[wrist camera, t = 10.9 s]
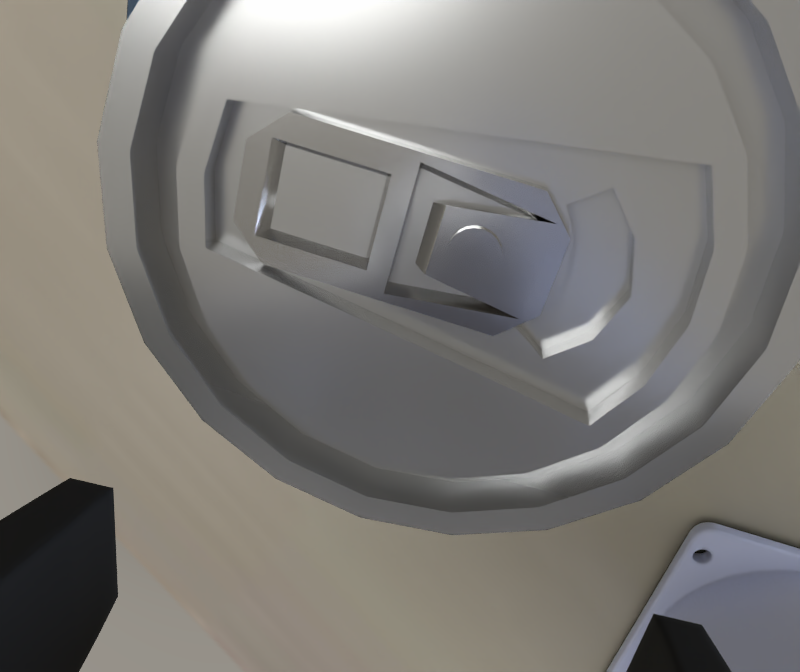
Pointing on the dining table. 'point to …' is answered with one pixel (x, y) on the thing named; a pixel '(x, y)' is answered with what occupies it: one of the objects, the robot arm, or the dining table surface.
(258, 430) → the beer can
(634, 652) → the robot arm
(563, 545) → the dining table surface
